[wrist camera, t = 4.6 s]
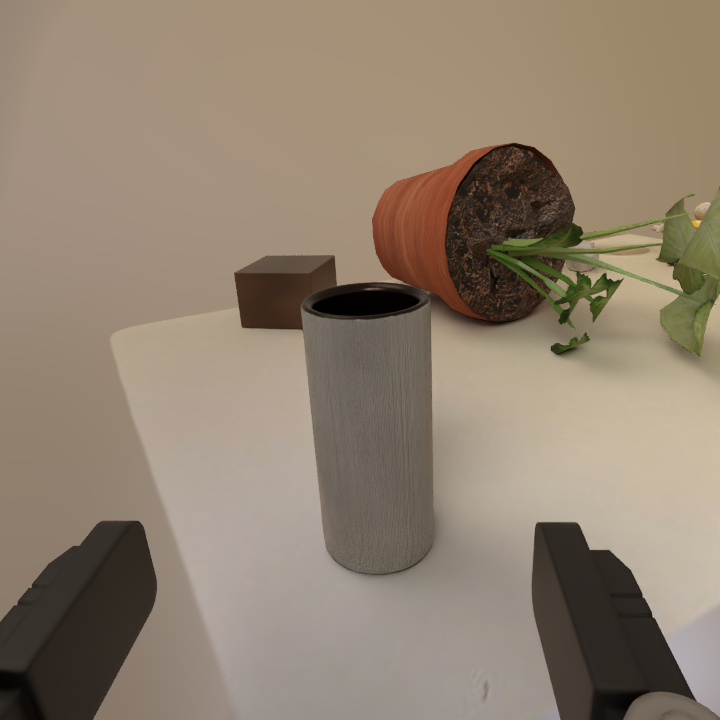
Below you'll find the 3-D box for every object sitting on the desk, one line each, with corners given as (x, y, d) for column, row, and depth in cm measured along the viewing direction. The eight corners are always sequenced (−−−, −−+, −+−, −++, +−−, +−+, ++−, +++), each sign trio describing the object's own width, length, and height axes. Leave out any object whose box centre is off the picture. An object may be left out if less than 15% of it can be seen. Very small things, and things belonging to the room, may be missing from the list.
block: (241, 327, 51) (233, 272, 49) (272, 305, 58) (266, 255, 56) (315, 329, 49) (310, 272, 48) (338, 306, 56) (334, 255, 54)
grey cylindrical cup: (449, 520, 25) (449, 286, 21) (405, 591, 21) (395, 323, 17) (358, 494, 27) (342, 278, 23) (303, 555, 23) (274, 310, 19)
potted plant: (354, 326, 55) (757, 443, 26) (343, 159, 51) (809, 82, 22) (473, 302, 63) (883, 373, 34) (473, 156, 59) (940, 97, 30)
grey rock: (556, 270, 64) (558, 243, 63) (576, 264, 66) (578, 238, 65) (584, 274, 61) (587, 246, 60) (604, 268, 63) (607, 241, 62)
